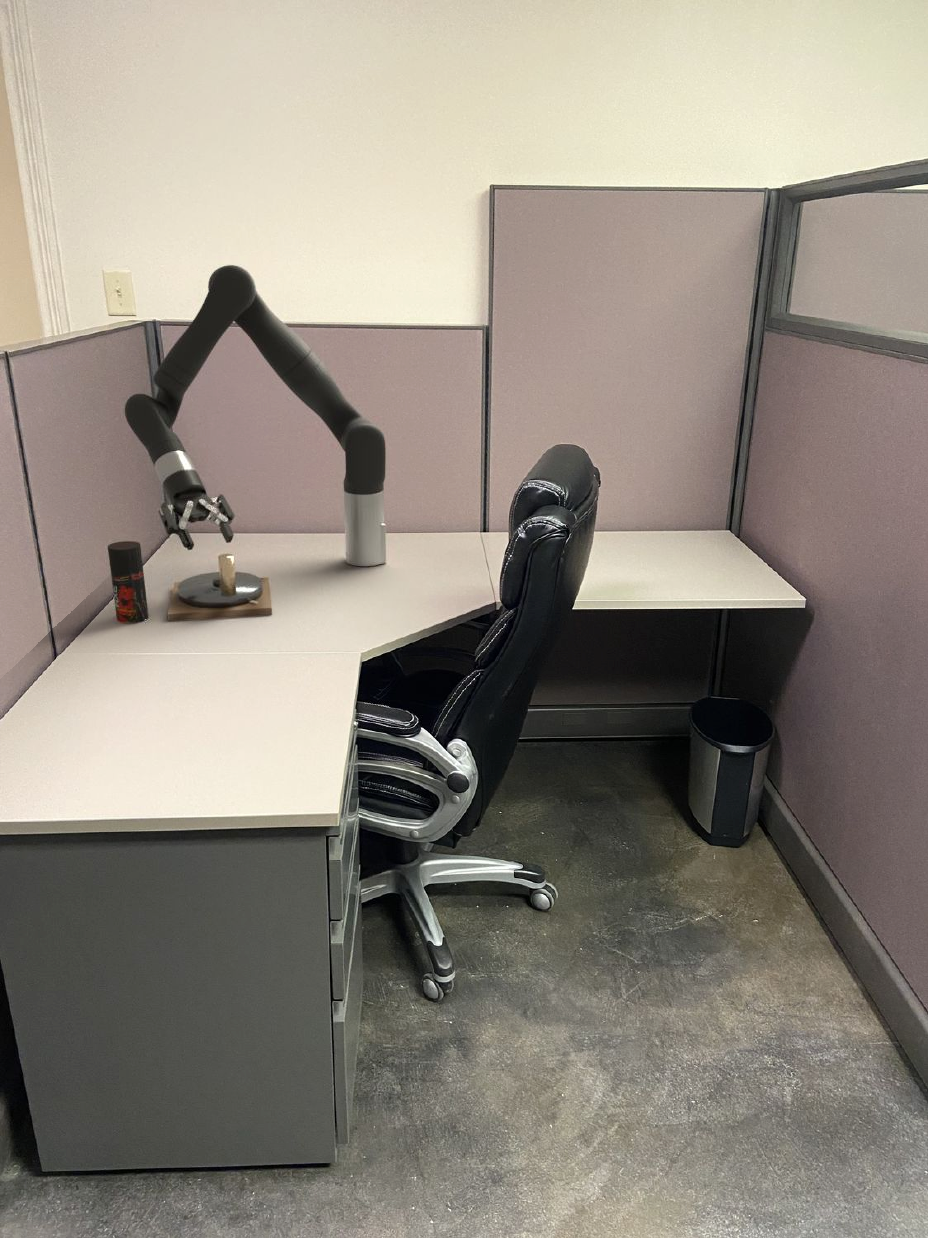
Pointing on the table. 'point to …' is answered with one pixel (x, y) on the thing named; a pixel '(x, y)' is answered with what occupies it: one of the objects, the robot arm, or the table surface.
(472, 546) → the table surface
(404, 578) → the table surface
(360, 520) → the robot arm
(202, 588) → the crank turntable
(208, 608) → the stand base
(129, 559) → the deodorant
